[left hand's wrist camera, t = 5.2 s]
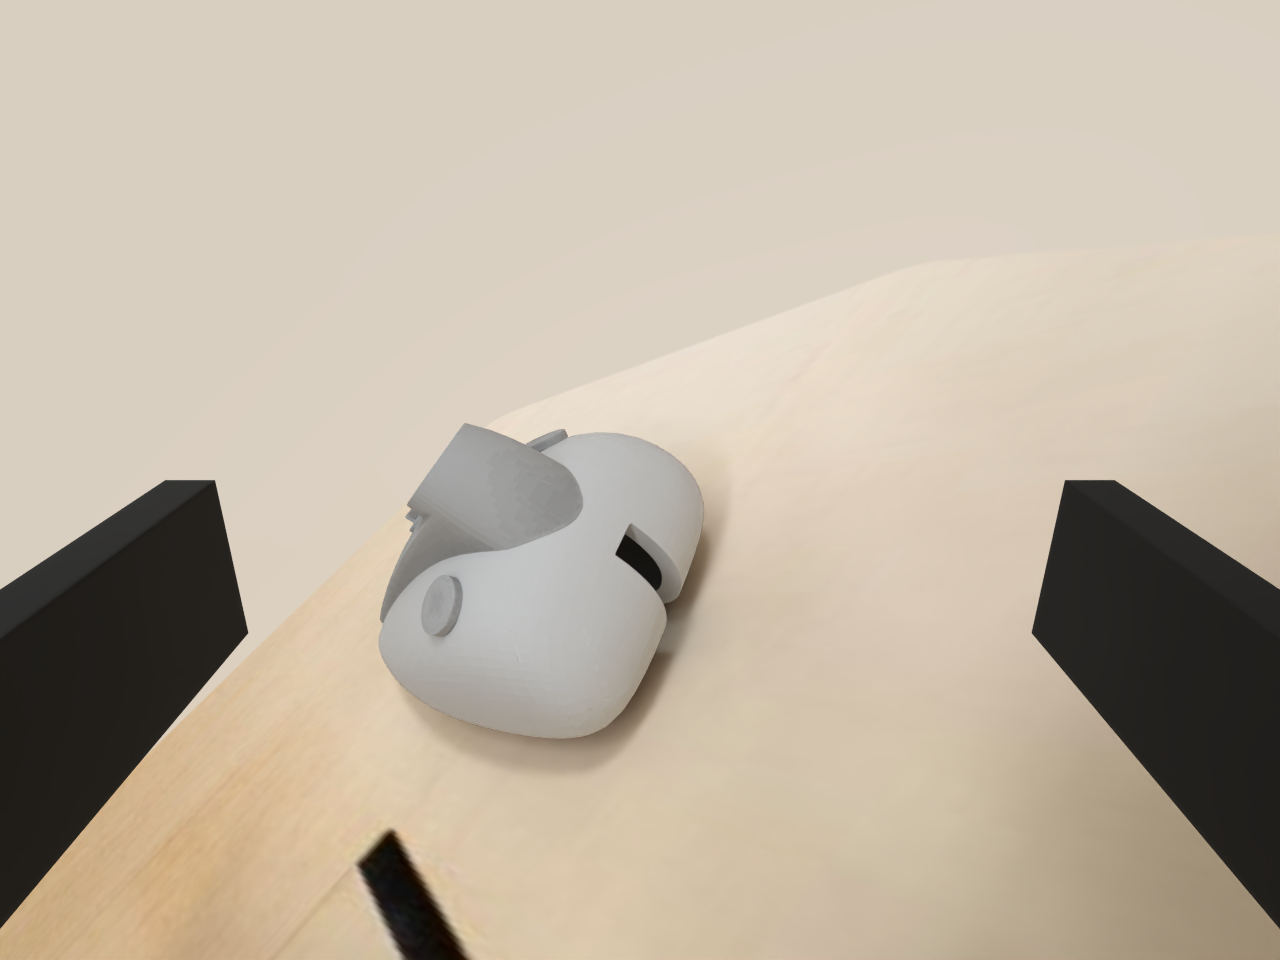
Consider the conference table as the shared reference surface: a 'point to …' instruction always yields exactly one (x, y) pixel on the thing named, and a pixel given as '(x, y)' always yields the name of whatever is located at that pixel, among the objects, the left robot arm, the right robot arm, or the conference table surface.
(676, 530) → the projector
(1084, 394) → the conference table surface
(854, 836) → the conference table surface
